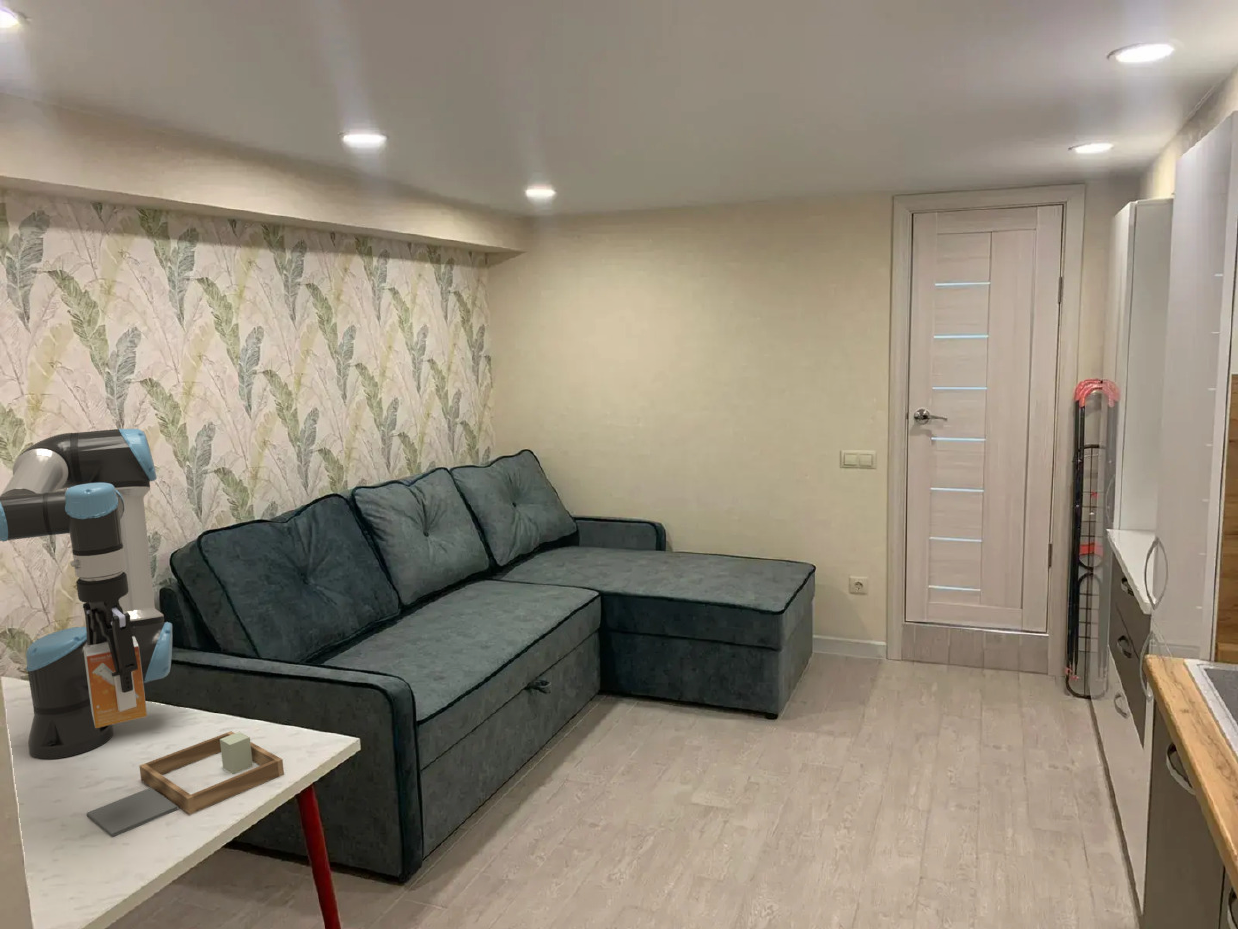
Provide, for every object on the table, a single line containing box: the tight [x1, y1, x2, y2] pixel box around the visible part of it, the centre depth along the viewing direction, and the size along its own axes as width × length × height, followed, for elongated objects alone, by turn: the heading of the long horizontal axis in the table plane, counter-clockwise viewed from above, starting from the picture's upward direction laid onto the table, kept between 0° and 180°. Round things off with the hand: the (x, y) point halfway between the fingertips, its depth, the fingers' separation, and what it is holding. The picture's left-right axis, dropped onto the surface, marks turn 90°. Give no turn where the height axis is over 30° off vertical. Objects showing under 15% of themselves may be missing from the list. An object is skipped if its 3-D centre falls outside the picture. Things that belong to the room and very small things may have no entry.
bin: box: [139, 730, 285, 815], centre depth 175 cm, size 20×18×3 cm
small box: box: [83, 637, 148, 728], centre depth 160 cm, size 8×6×13 cm
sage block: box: [220, 731, 254, 775], centre depth 179 cm, size 4×4×6 cm
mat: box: [86, 786, 179, 838], centre depth 164 cm, size 11×11×1 cm
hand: (118, 702), depth 160 cm, fingers closed on small box, 7 cm apart
